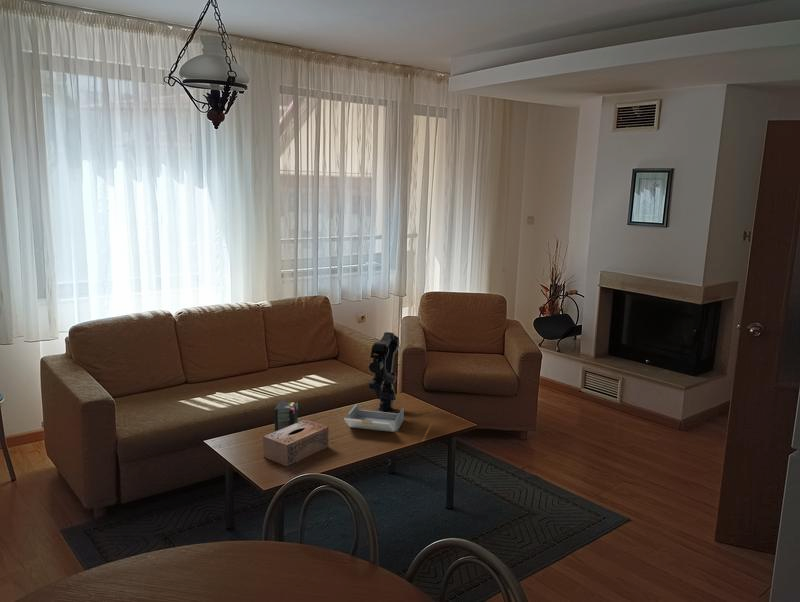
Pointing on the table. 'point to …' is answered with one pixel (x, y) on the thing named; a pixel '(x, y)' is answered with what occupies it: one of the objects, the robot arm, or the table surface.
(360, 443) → the table surface
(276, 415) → the tampon box
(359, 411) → the carton
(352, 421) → the flap
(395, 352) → the robot arm
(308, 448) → the tissue box cover
